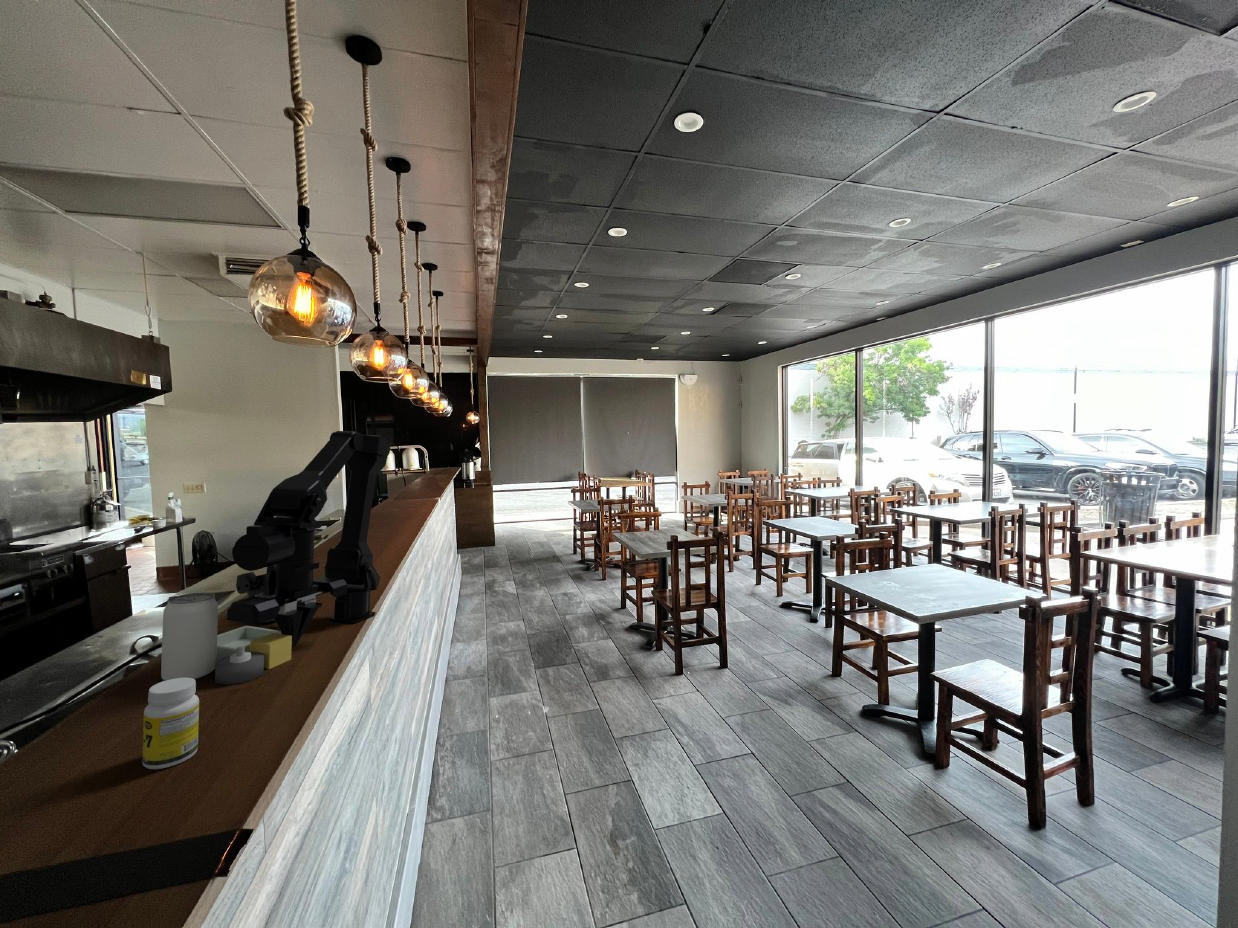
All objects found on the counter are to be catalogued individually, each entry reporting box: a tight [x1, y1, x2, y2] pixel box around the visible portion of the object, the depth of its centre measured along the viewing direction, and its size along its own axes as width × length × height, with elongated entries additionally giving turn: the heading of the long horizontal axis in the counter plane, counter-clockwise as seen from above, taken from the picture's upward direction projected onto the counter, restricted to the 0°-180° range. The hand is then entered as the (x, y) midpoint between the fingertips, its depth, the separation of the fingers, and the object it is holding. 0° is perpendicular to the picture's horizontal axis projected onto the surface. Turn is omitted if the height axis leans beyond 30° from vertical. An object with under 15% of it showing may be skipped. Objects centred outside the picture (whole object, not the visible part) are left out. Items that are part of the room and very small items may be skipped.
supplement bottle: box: [141, 678, 200, 770], centre depth 56 cm, size 5×5×8 cm
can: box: [160, 592, 219, 681], centre depth 77 cm, size 6×6×12 cm
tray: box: [216, 625, 281, 662], centre depth 86 cm, size 9×9×2 cm
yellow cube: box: [250, 633, 293, 670], centre depth 82 cm, size 4×4×4 cm
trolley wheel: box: [214, 646, 265, 685], centre depth 77 cm, size 6×6×4 cm
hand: (291, 647), depth 86 cm, fingers closed
